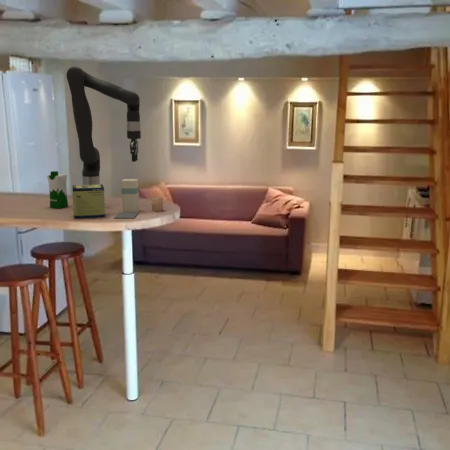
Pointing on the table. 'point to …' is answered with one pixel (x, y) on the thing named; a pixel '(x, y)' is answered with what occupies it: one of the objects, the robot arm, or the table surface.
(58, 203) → the milk carton
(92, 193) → the protein box
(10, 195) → the table surface
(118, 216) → the mat
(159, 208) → the tan small block
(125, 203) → the oat carton
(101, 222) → the table surface
